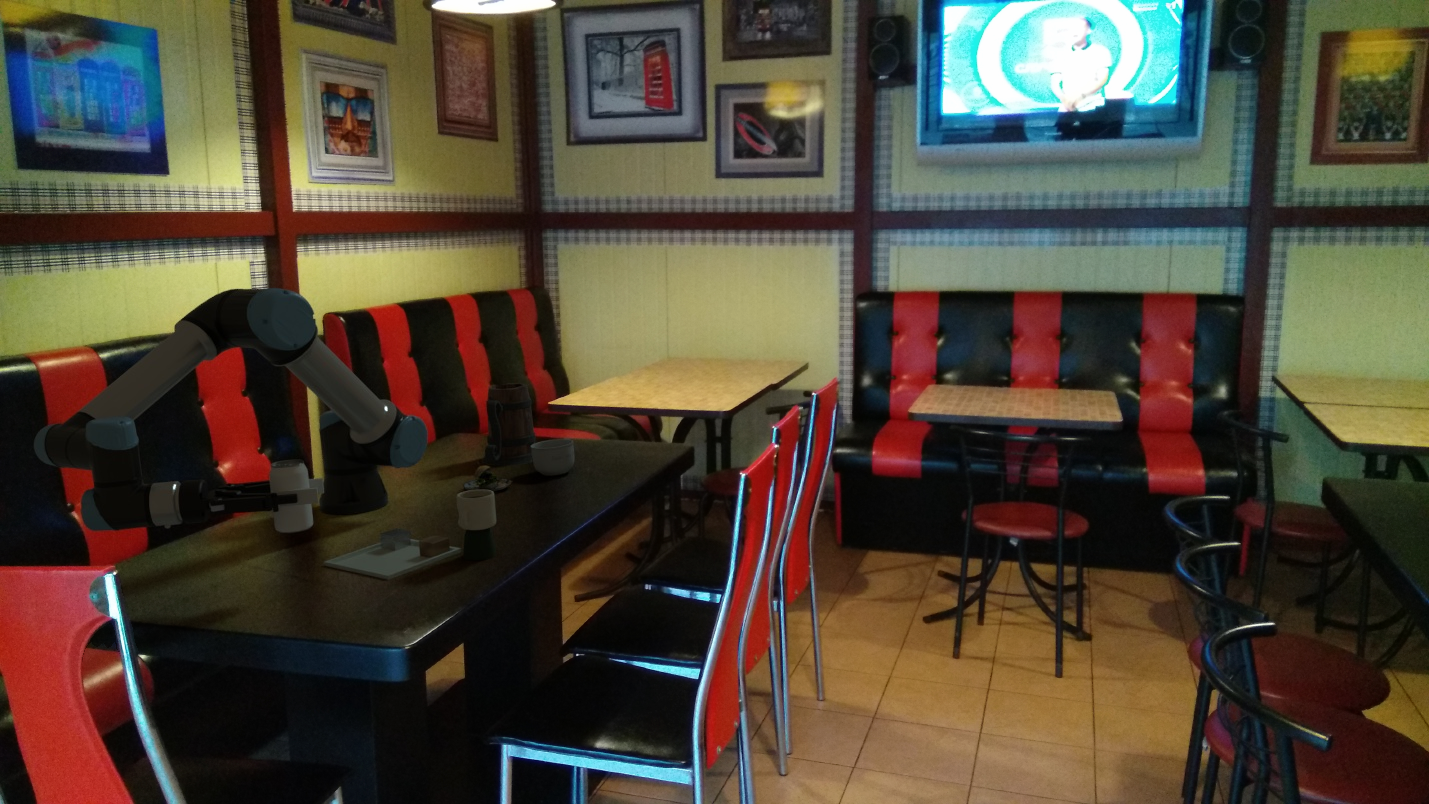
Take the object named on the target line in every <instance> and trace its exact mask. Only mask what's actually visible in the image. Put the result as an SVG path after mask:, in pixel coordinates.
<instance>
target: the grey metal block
mask: <svg viewBox="0 0 1429 804" xmlns="http://www.w3.org/2000/svg"><path fill="white" fill-rule="evenodd" d="M379 535H380V536H379V537H380V542H381V547H382V548H383V549H388V550H393V551H397V550H399V549H402V548H405V547H408V546H411V540H410V539H411V533H410V530H407V529H402V528H392V529H390V530H387V531H384V532H381V533H380V534H379Z"/></svg>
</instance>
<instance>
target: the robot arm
mask: <svg viewBox="0 0 1429 804" xmlns="http://www.w3.org/2000/svg"><path fill="white" fill-rule="evenodd" d="M314 315H315V311H314V309H313V307H312V305H311V304H310V302H309V301H308V300H307V299H306V298H305V297H304V296H303V295H301V294H300V293H298V292H296V291H293V290H290V289H284V288H280V287H269V288H231V289H228V290H223V291H221V292H219V293H217V294H215V295H213V296H211V297H209V298H208V299H206V300H205V301H202V303H200V304H199V305H198V306H196V307H194V308H193V309H192V310H190V312H188V313H187V314H185V316H183V317H181V319H179V320H178V321H177V322H176V323H175V324H174V326H173V327H174V328H173V329H174V332H172V333H171V334H170V335H169V336H167V337H166V338H165V339H164V340H163V341H161V342H160V343H159V344H157V346H156V347H154V348H153V349H152V350H151V351H149V352H148V353H147V354H146V355H145V356H143V357H141V359H140V360H138V361H137V362H136V363H135V364H133V366H131V367H130V368H129V369H127V370H126V371H125V372H124V373H123V374H121V375H119V377H118V378H117V379H116V380H114V381H113V382H112V383H110V384H109V385H108V386H107V387H106V388H104V389H103V390H102V391H100V393H99V394H96V396H95V397H93V398H92V399H91V400H90V401H88V402H87V403H86V404H85V405H84V406H82V407H81V408H80V409H79V410H78V411H76V412H75V413H74V414H72V415H71V416H70V417H69V418H68V419H66V420H65V421H64V422H62V423H60V422H58V423H53V424H49V425H45V426H44V427H43V428H41V429H40V430H39V431H38V432H37V434H36V436H35V438H34V441H33V442H34V443H33V449H34V453H35V455H36V456H37V457H38V459H39V460H40V461H41V462H43V463H44V464H46V465H50V466H54V467H55V468H60V469H66V468H67V469H76V470H83V471H90V472H91V475H92V476H91V477H92V483H93V487H92V488H88V489H86V490H85V491H84V492H83V494H82V495H81V500H80V516H81V519H82V522H83V524H84V526H85V527H86V528H87V529H88V530H90V531H93V532H104V531H105V532H106V531H113V532H118V531H122V530H133V529H140V528H149V527H152V528H153V527H159V526H160V527H161V526H164V528H165V529H170V528H172V527H171V526H173V525H181V524H182V523H185V524H186V525H187V524H188V525H190V524H199V523H206V522H207V521H209V519H210V516H212V517H213V516H214V517H216V516H222V515H231V514H242V513H255V512H256V513H257V512H258V513H259V512H271V511H272V513H273V512H278V511H279V508H278V505H279V507H283V506H294V505H305V504H311V505H314V504H319V511H320V512H321V513H324V514H330V515H350V514H358V513H365V512H370V511H374V510H378V509H380V508H383V507H384V506H386V505H387V504H389V494H388V491H387V489H386V486H385V484H384V481H383V480H382V478H381V475H380V474H379V473H380V472H379V470H378V466H381V467H382V466H383V467H390V468H391V467H392V468H395V469H401V468H408V469H409V468H411V467H413V466H416V465H417V464H418V463H419V462H420V461H421V460H422V458H423V456H424V454H425V452H426V450H427V447H428V446H427V445H428V443H429V441H428V436H429V434H428V428H427V425H426V423H425V422H424V420H423V419H422V418H421V417H419V416H415V415H413V414H409V415H408V414H405V413H404V412H402V411H401V410H400V409H399V408H398V407H397V406H396V405H395V403H393V402H392V401H391V400H389V399H380V398H378V396H377V395H376V394H375V393H374V392H372V390H371V389H370V388H369V387H368V386H367V385H366V384H365V383H364V382H363V381H362V380H361V379H360V378H359V377H358V376H357V375H356V374H354V372H353V371H352V370H351V369H350V368H349V367H348V366H347V365H346V364H345V363H344V362H343V361H342V360H341V359H340V358H339V357H338V356H337V355H336V354H335V353H334V352H333V351H332V350H331V349H330V348H329V347H328V345H326V344H325V343H324V342H323V340H321V339H320V338H319V337H318V336H319V335H318V334H319V328H318V326H317V322H316V321H317V320H316V318H314ZM235 348H241V349H242V348H244V349H254V350H256V351H257V352H258V353H259V354H260V355H261V356H262V357H263V358H264V359H266V360H267V361H268V362H269V363H270V364H271V365H273V366H274V367H285V368H286V369H288V370H289V371H290V372H291V373H292V374H293V375H294V377H296V378H297V379H298V380H299V381H300V382H302V383H303V385H305V387H307V388H308V389H309V390H310V391H311V392H312V393H313V395H315V397H317V398H318V399H320V401H322V402H323V403H324V404H325V405H326V406H327V407H328V408H329V410H327V411H325V412H323V413H321V415H320V416H319V428H318V429H319V430H318V431H319V438H320V446H321V454H322V463H323V464H322V465H323V471H324V478H323V477H321V478H320V477H319V478H318V477H317V478H309V487H310V488H305V489H293V490H282V491H278V495H277V493H271V489H270V480H269V479H266V480H259V481H258V480H257V481H248V482H247V481H246V482H240V483H238V482H237V483H233V482H231V483H230V482H229V483H225V485H220V486H218V487H217V488H215V489H211V488H209V485H208V482H207V481H206V480H205V479H201V478H200V479H191V480H184V481H181V482H179V481H178V480H174V481H168V482H167V481H165V482H155V483H144V477H143V474H142V473H143V472H142V465H141V456H140V455H141V453H140V446H139V442H140V438H139V436H138V435H137V429H136V428H137V427H136V424H135V420H136V419H137V418H138V417H140V416H141V415H142V414H143V413H144V412H145V411H147V410H148V409H150V407H151V406H152V405H154V404H155V403H156V402H157V401H158V400H160V399H161V398H162V397H163V396H164V395H165V394H166V393H168V392H169V391H171V389H172V388H173V387H174V386H176V385H177V384H178V383H180V382H181V381H182V380H183V379H184V378H185V377H186V376H187V375H188V374H190V373H191V372H192V371H193V370H194V369H196V368H197V367H198V366H199V365H201V363H202V362H207V361H208V362H210V361H211V362H212V361H213V360H215V359H216V357H218V356H219V355H221V354H222V353H223V352H226V351H228V350H232V349H235ZM319 495H320V497H319Z"/></svg>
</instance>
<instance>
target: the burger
mask: <svg viewBox="0 0 1429 804" xmlns="http://www.w3.org/2000/svg"><path fill="white" fill-rule="evenodd" d="M476 461H477V464H478V465H479V467H477V468H476V470H475V471H474V475H473V478H474V479H473V480H470V481H468V482H465V483H464V484H463V485H462V487H463V490H462V492H465V491H469V490H483V489H484V490H491V491H493V492H498V491H502V490H504V489H507V487H509V486H510V485H511V484H512V483H513V480H512V479H510V478H506V477H505V478H503V477H497V475H495V474H494V473H493V472H492V471H491V469H492V468H491V466H490V465H480V463H479V461H478V460H476Z"/></svg>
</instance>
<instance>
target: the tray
mask: <svg viewBox="0 0 1429 804" xmlns="http://www.w3.org/2000/svg"><path fill="white" fill-rule="evenodd" d="M410 540H411V546H408V547H405V548H402V549H399V550H397V551H393V550H388V549H383V548H382V547H381V541H380V542H377V543H375V544H372V545H369V546H365V547H363V548H360V549H357V550H354V551H352V552H348V553H345V554H343V555H339V556H337V557H334V558H331V559H328V560H326V561H323V566H324V567H329V568H334V569H338V570H343V571H347V572H352V573H357V574H360V575H365V576H370V577H375V578H379V579H383V580H387V581H388V580H389V581H390V580H392V579H393V578H396V577H399V576H402V575H405V574H407V573H410V572H412V571H416V570H417V569H420V568H424V567H425V566H428V565H431V564H433V563H437V562H439V561H441V560H444V559H446V558H450V557H452V556H455V555H458V554H461V553H462V548H461V547H456V546H451V545H449V546H450V551H448V552H446V553H443V554H440V555H438V556H435V557H432V558H428V557H423V556H420V549H419V541H420V540H417V539H413V538H410Z"/></svg>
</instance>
